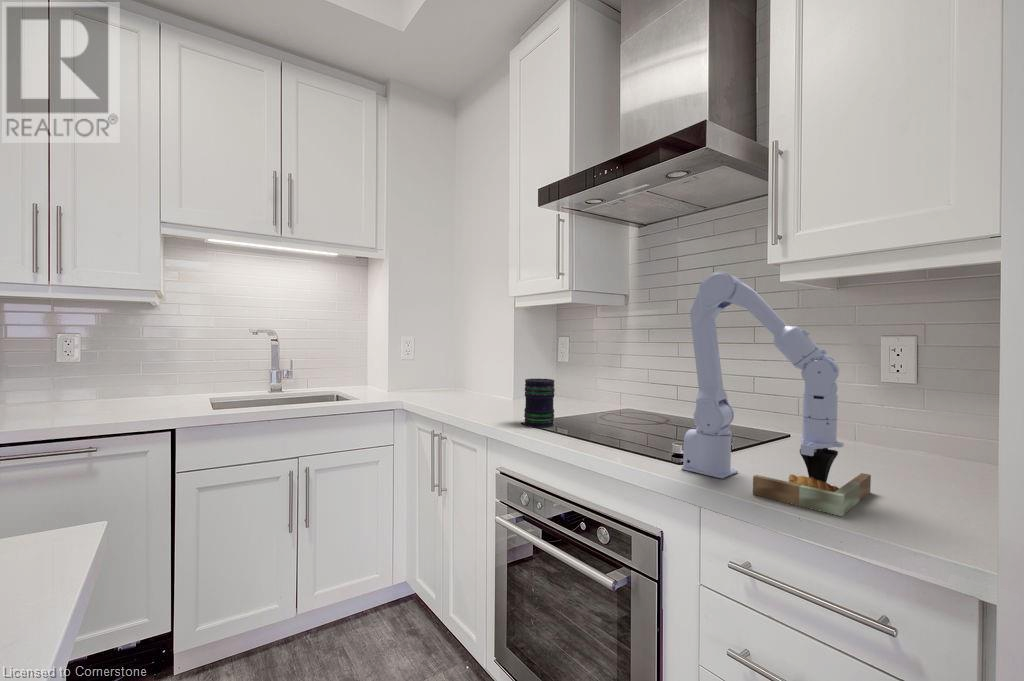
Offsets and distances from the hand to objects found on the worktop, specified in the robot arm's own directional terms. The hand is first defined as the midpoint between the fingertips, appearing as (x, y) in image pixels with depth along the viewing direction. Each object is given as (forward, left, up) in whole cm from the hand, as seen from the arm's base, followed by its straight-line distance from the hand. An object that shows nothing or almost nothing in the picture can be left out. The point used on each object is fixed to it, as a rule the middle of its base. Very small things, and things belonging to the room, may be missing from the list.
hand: (817, 486), depth 95 cm
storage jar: (-82, +3, -1) cm, 82 cm away
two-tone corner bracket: (0, -2, -1) cm, 2 cm away
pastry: (0, -4, -2) cm, 4 cm away
